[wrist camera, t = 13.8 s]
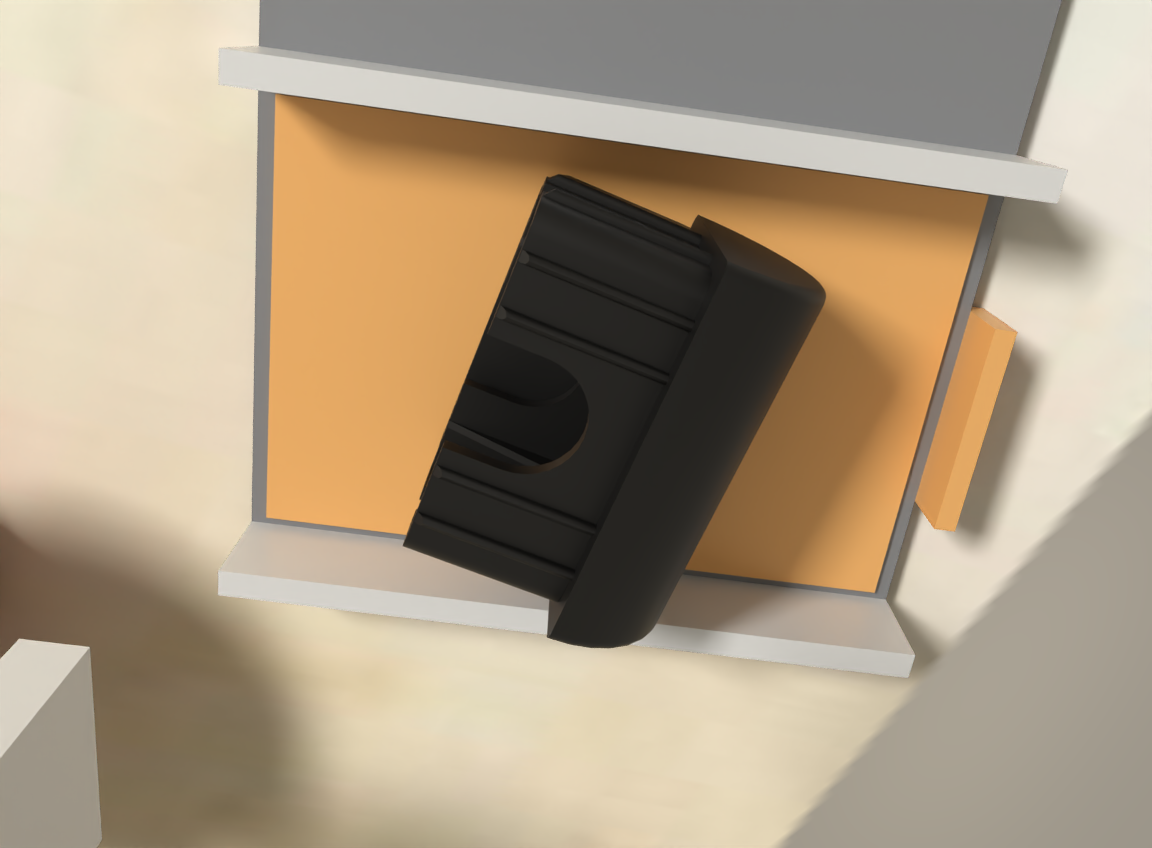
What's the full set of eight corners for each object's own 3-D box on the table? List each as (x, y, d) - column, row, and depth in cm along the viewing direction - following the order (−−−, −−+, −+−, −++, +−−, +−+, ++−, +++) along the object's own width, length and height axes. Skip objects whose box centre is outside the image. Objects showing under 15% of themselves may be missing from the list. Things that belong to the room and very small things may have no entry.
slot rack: (1219, -486, 22) (1336, -580, 18) (892, 612, 32) (928, 680, 29) (278, -650, 21) (219, -780, 17) (257, 534, 31) (218, 595, 28)
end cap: (646, 549, 30) (662, 684, 24) (429, 467, 29) (387, 586, 23) (796, 252, 27) (860, 319, 21) (556, 148, 26) (547, 186, 20)
